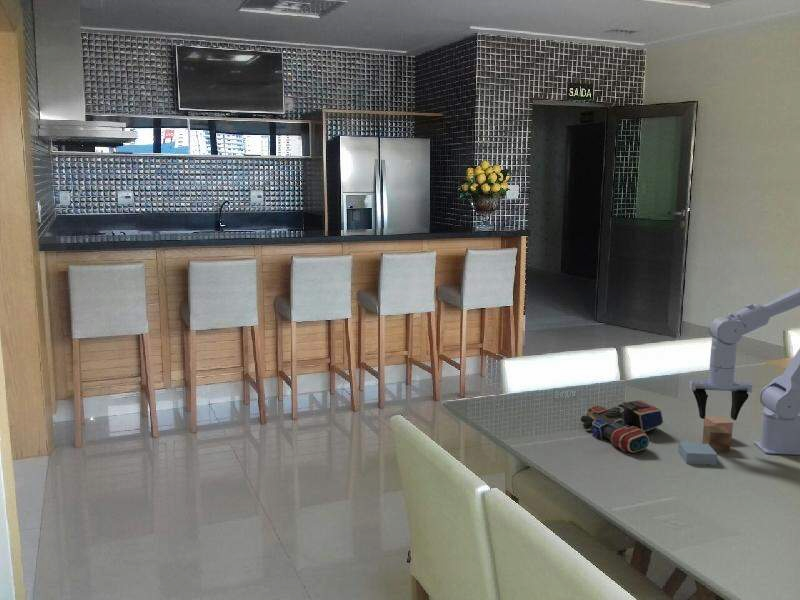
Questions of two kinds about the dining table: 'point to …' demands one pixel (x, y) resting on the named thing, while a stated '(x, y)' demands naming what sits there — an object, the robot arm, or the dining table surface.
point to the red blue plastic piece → (624, 424)
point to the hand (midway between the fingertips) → (717, 418)
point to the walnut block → (717, 438)
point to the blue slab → (697, 453)
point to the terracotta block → (719, 423)
